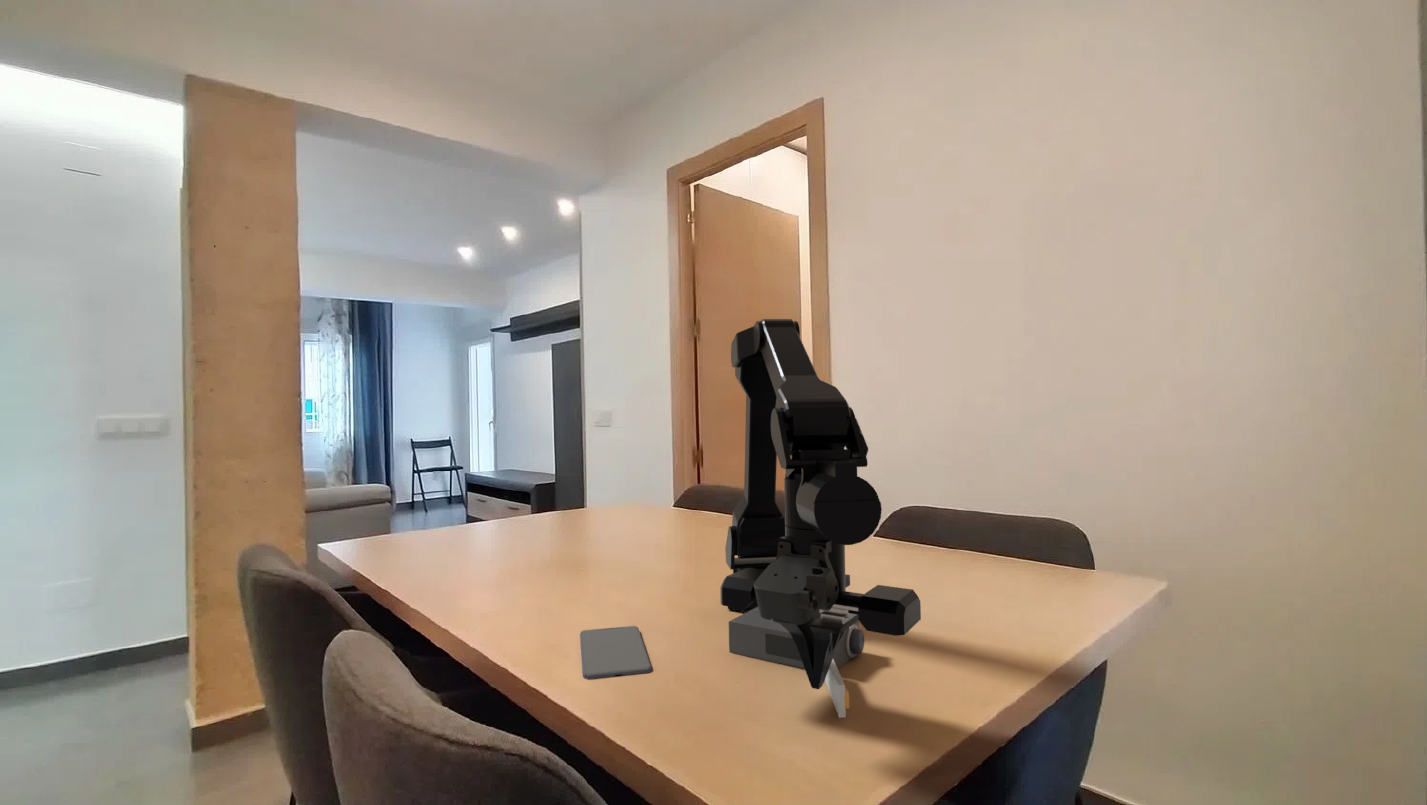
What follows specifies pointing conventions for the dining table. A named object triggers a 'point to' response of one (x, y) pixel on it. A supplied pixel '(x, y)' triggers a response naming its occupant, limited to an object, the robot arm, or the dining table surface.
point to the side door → (837, 690)
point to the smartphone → (613, 652)
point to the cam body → (782, 641)
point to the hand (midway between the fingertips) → (817, 687)
